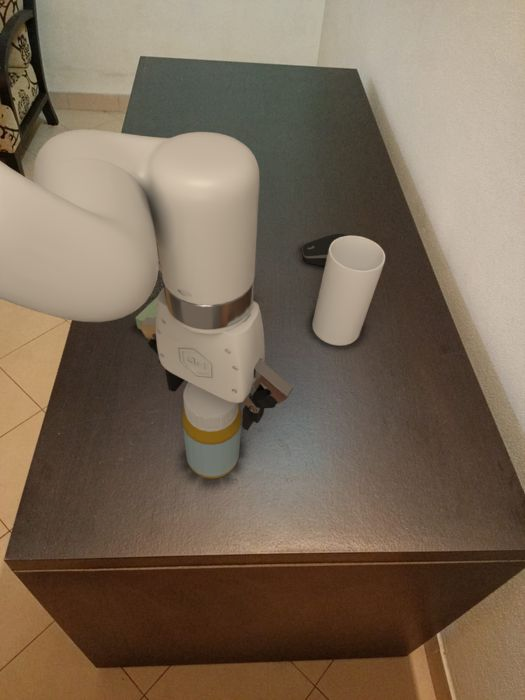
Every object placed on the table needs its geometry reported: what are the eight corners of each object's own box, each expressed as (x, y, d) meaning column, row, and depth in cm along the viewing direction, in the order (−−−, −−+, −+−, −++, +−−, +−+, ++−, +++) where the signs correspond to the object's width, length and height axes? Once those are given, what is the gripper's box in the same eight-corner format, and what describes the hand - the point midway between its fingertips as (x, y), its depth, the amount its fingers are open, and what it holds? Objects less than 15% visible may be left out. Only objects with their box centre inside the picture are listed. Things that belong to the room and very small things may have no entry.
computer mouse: (300, 244, 94) (302, 227, 91) (360, 246, 95) (365, 230, 92) (302, 267, 89) (305, 250, 86) (366, 269, 90) (371, 253, 87)
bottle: (182, 478, 61) (174, 418, 49) (191, 431, 65) (184, 365, 54) (236, 482, 61) (240, 423, 49) (240, 435, 65) (245, 371, 54)
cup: (354, 351, 77) (380, 278, 64) (306, 337, 78) (323, 262, 66) (364, 317, 82) (389, 243, 70) (318, 304, 83) (336, 229, 71)
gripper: (99, 278, 40) (132, 391, 53) (279, 361, 35) (265, 463, 48) (153, 232, 44) (171, 348, 57) (320, 301, 39) (297, 409, 53)
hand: (214, 400), depth 53 cm, fingers open, 9 cm apart
